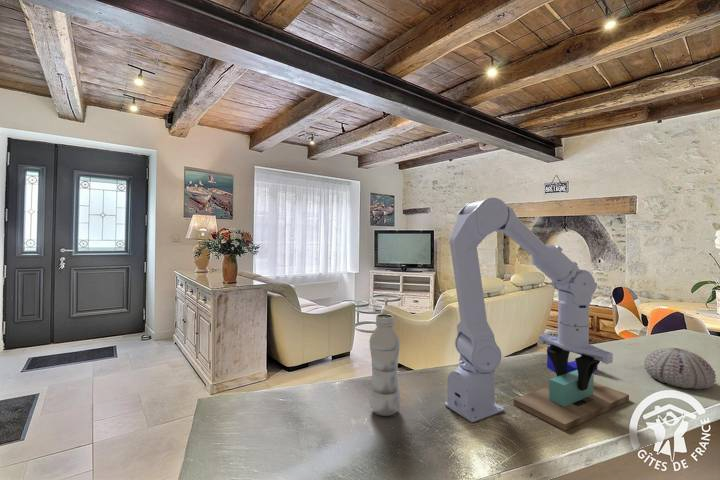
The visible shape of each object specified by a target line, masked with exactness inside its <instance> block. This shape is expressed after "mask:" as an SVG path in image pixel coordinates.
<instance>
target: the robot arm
mask: <svg viewBox="0 0 720 480" xmlns="http://www.w3.org/2000/svg"><path fill="white" fill-rule="evenodd" d="M494 232H496V233H503V234H505V235H506V236H507V237H508V238H510V239H511V240H512V241H514V242H515V243H516V244H517V245H518V246H520V247H521V248H522V249H523V250H525V252H527V253H528V254H530V255H531V263H532V265H534V266H535V267H536V268H537V269H538V270H539V271H540V272H542V273H543V274H544V275H545V276H546V277H547V278H548V279H549V280H551V284H552V287H553V288H554V289H555V290H557V291H558V292H557V293H558V294H557V295H558V296H557V297H558V298H557V299H558V300H557V301H558V302H557V303H558V305H557V308H558V310H557V336H554V335H549V334H545V333H544V334H539V335H538V344H539V345H547V346H550V349H547V348H546V354H548V355H549V357H550V359H551V361H552V363H553V365H554V368H555V371H556V373H555V374H556V375H555V376H556V377H558V376H561V375H563V374H566V373H567V363H568V362H569V357H570V353H573V354H575V355H579V357H575V359H574V361H576V364H577V369H578V388H579V390H581V391H583V390H586V389H587V387H588V384H589V380H590V378H591V375H592V374H594V372H595V371H594V370H595V368H596V367H597V368H598V365H599V364H600V362H601V363H602V364H605V365H609V364H612V363H613V356H614V353H613V352H611V351H606V350H604V349H601V348H599V347H596V346H594V345H591V344H589V343H590V341H589V340H590V305H591V303H592V297H593V294H594V293H595V292H596V291H597V287H598V283H597V282H596V281H595V278H594V277H593V275H592V273H591V272H589V271H588V270H586V269H582V268H581V269H580V268H579V266H578V263H577V262H576V261H574V260H571V259H570V258H569V257H568V256H567V255H565V253H563V252H562V251H563V248H562V247H561V246H560V245H554V244H552V243H551V244H549V243H548V244H545V243H544V242H543V241H542V240H541V239H540V238H539V237H538V236H537V235H536V234H535V233H534V232H533V231H532V230H531V229H530V227H528V226H527V225H526V224H525V223H524V222H523V221H522V220H521V219H520V218H519V216H517V215H516V212H515V210H514V209H513V208H511V206H509V205H507V204H506V202H504V201H503V200H502V199H500V198H498V197H488V198H485V199H483V200H476V201H474V200H473V201H469V202H467V203H466V204H465V205H464V206H463V207H461V209H459V211H458V212H457V213H456V222H455V224H454V226H453V229H452V232H451V234H450V237H449V246H450V249H449V250H450V256H451V261H452V262H451V263H452V269H453V277H454V283H455V289H456V290H455V291H456V297H457V298H456V299H457V305H458V312H459V318H460V319H459V322H458V324H456V330H457V333H456V338H455V341H454V346H455V348H456V351H457V352H458V354H459V361H458V366H457V367H456V368H455V369H454V370H451V371H450V372H449V374H448V376H447V397H446V398H447V401H445V402H444V405H445V406H446V407H447V408H449V409H450V410H452V411H454V412H455V413H457V414H458V415H460V416H461V417H463V418H464V419H466V420H468V421H469V422H471V423H475V422H477V421H480V420H483V419H486V418H488V417H491V416H494V415H495V414H498V413H501V412H504V411H505V407H503V406H501V405H499V404H497V403H496V401H495V400H496V399H495V398H496V393H495V392H496V391H495V390H496V389H495V387H496V369H497V368H498V367H499V366H500V364H501V361H502V355H503V354H502V351H501V349H500V347H499V345H498V344H497V342H496V339H495V333H494V332H493V330H492V328H491V326H490V324H489V323H488V319H487V311H486V304H485V295H484V291H483V283H482V276H481V268H480V260H479V253H478V246H479V245H480V244H481V243H482V242H483V241H484V239H485V238H486V237H487V236H488V235H490V234H492V233H494ZM581 355H582V357H580V356H581Z"/></svg>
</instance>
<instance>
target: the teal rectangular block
mask: <svg viewBox="0 0 720 480" xmlns="http://www.w3.org/2000/svg"><path fill="white" fill-rule="evenodd" d="M548 381H549V383H548V384H549V385H548V387H549V400H550V401H552V402H555V403H557V404H559V405H561V406H563V407H565V406H567V405H569V404H574V403H577V402H578V401H582V400H581V399H584V398H586V397H589V396H591V395H593V383H594V381H595V380H594V373H592V375H591V378H590V380H589V384H588V387H587V389H586V390H583V391H581V390H579V388H578V370H575V371H572V372H569V373H566V374H563V375H561V376H558V377H557V376H554V377H553V378H550V379H549V380H548Z"/></svg>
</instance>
